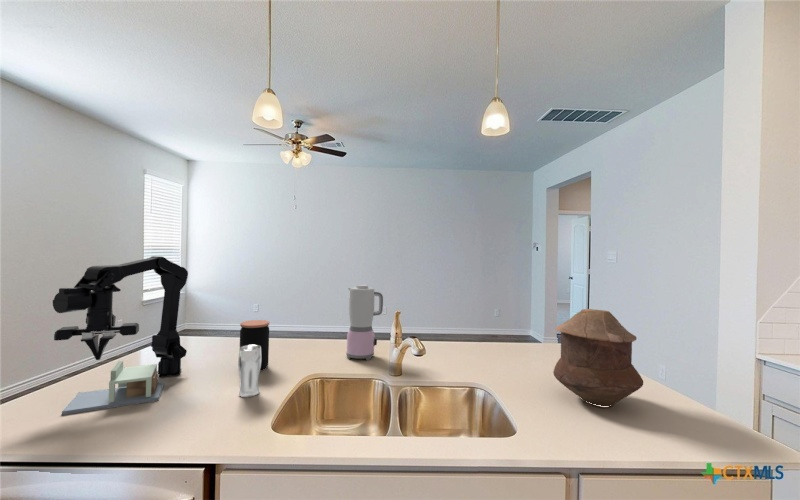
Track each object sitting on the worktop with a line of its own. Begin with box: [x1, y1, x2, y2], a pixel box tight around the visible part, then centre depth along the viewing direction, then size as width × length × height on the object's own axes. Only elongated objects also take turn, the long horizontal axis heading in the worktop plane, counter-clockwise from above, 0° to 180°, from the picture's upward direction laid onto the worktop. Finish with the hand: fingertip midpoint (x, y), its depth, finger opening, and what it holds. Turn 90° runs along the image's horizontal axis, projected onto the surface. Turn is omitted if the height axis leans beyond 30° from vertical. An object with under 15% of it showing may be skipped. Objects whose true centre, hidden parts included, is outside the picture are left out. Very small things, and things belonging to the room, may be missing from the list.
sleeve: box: [126, 370, 159, 398], centre depth 110 cm, size 7×7×5 cm
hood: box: [108, 360, 158, 403], centre depth 109 cm, size 10×13×9 cm
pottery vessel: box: [552, 308, 644, 406], centre depth 115 cm, size 26×26×30 cm
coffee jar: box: [239, 319, 270, 372], centre depth 137 cm, size 11×11×18 cm
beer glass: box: [237, 345, 261, 398], centre depth 113 cm, size 7×7×15 cm
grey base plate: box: [61, 381, 165, 416], centre depth 107 cm, size 22×14×4 cm, turn 119°
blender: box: [345, 284, 384, 362], centre depth 155 cm, size 16×12×32 cm
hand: (98, 359), depth 105 cm, fingers closed
